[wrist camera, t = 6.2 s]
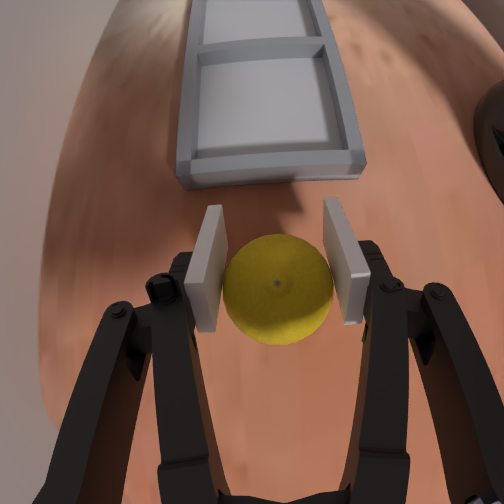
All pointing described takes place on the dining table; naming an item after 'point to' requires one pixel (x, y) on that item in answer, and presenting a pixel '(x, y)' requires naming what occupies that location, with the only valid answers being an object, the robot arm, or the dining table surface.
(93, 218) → the dining table surface
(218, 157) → the grey divided tray
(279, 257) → the lemon
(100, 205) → the dining table surface
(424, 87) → the dining table surface
